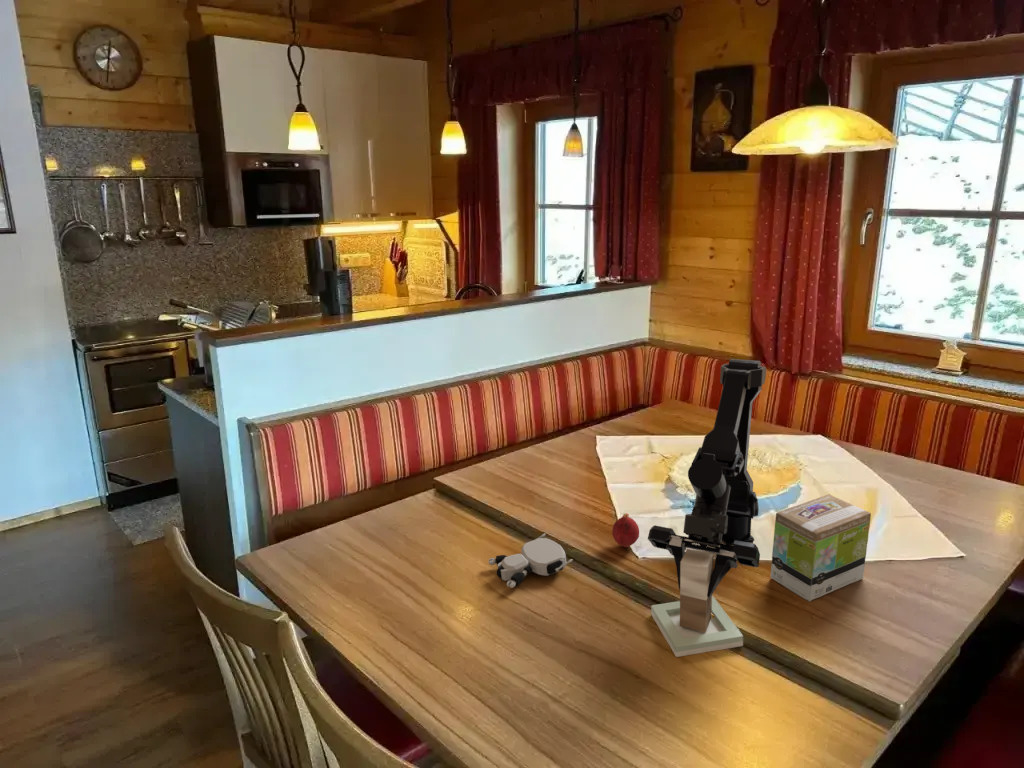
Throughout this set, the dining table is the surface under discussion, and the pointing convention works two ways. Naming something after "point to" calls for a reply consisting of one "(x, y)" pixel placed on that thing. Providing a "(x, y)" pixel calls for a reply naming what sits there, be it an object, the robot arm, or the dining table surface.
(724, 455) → the robot arm
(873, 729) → the dining table surface
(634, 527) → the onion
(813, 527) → the tea box
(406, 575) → the dining table surface
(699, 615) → the block stack
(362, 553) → the dining table surface
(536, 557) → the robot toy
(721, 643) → the picture frame
